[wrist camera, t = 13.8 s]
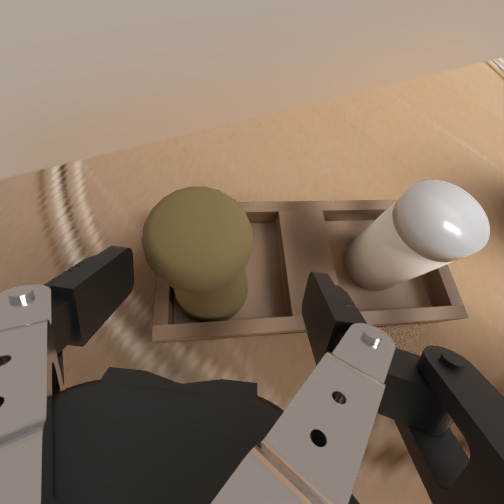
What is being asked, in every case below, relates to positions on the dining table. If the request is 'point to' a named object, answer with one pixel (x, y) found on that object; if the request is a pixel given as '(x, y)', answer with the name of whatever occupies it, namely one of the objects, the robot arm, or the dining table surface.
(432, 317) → the cruet caddy
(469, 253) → the salt shaker
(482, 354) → the dining table surface
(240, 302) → the olive mushroom knob
